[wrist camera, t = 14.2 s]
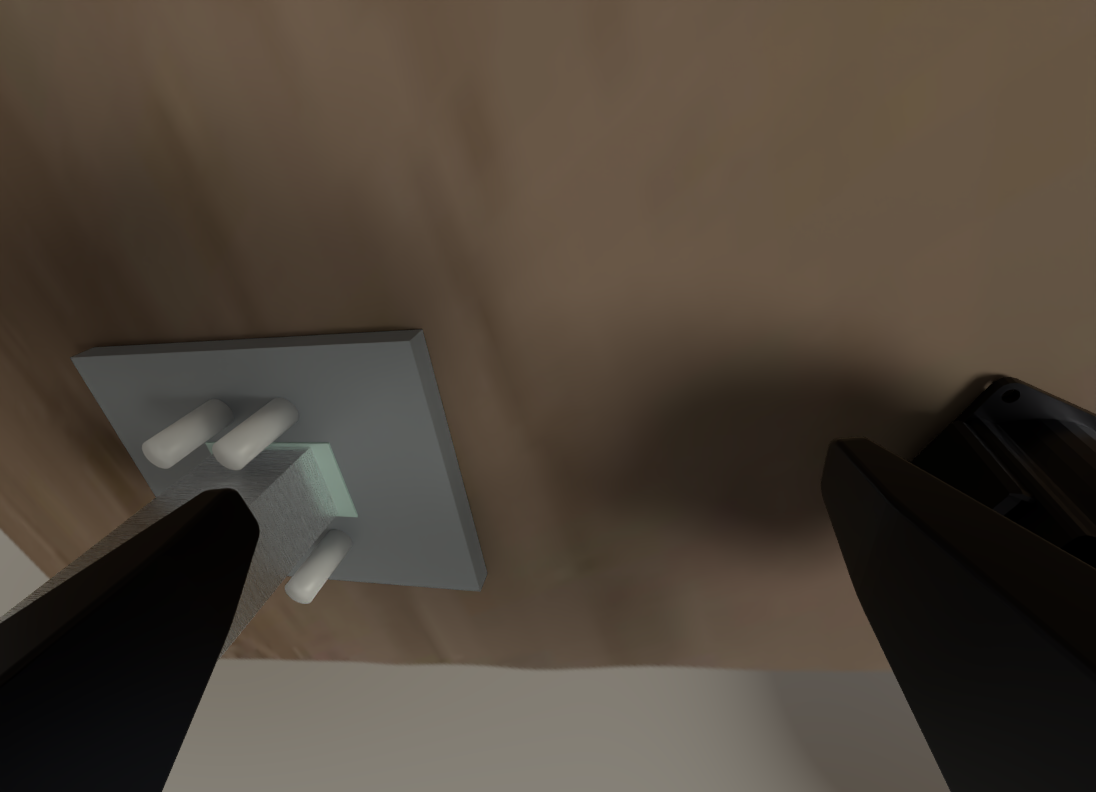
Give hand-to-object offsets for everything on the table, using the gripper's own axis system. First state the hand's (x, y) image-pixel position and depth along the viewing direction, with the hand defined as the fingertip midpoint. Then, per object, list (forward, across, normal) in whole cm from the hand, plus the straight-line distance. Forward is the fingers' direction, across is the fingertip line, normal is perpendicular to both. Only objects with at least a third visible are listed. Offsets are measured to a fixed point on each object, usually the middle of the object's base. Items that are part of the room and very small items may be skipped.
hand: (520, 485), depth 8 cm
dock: (+14, +15, +11) cm, 23 cm away
